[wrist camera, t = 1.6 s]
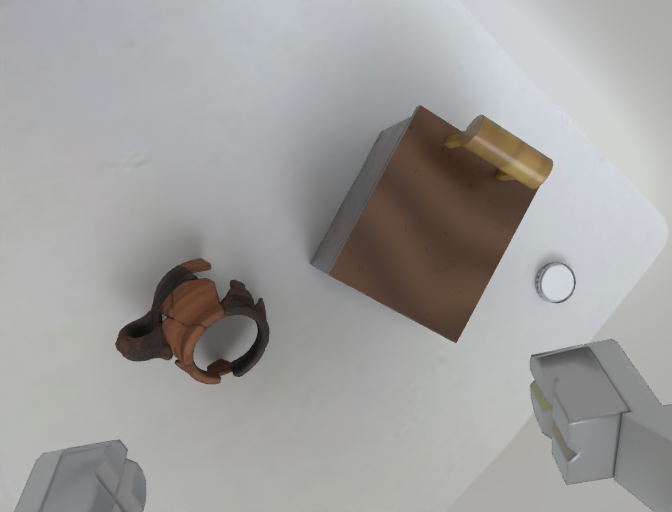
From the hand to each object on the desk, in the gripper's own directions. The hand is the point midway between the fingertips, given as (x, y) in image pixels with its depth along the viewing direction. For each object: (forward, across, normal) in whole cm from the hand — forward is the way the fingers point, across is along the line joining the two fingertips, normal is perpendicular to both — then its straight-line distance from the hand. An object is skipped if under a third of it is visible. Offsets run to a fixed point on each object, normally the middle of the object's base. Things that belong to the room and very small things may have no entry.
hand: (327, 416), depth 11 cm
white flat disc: (+36, -19, +30) cm, 50 cm away
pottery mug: (+31, +15, +21) cm, 41 cm away
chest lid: (+30, -7, +16) cm, 35 cm away
